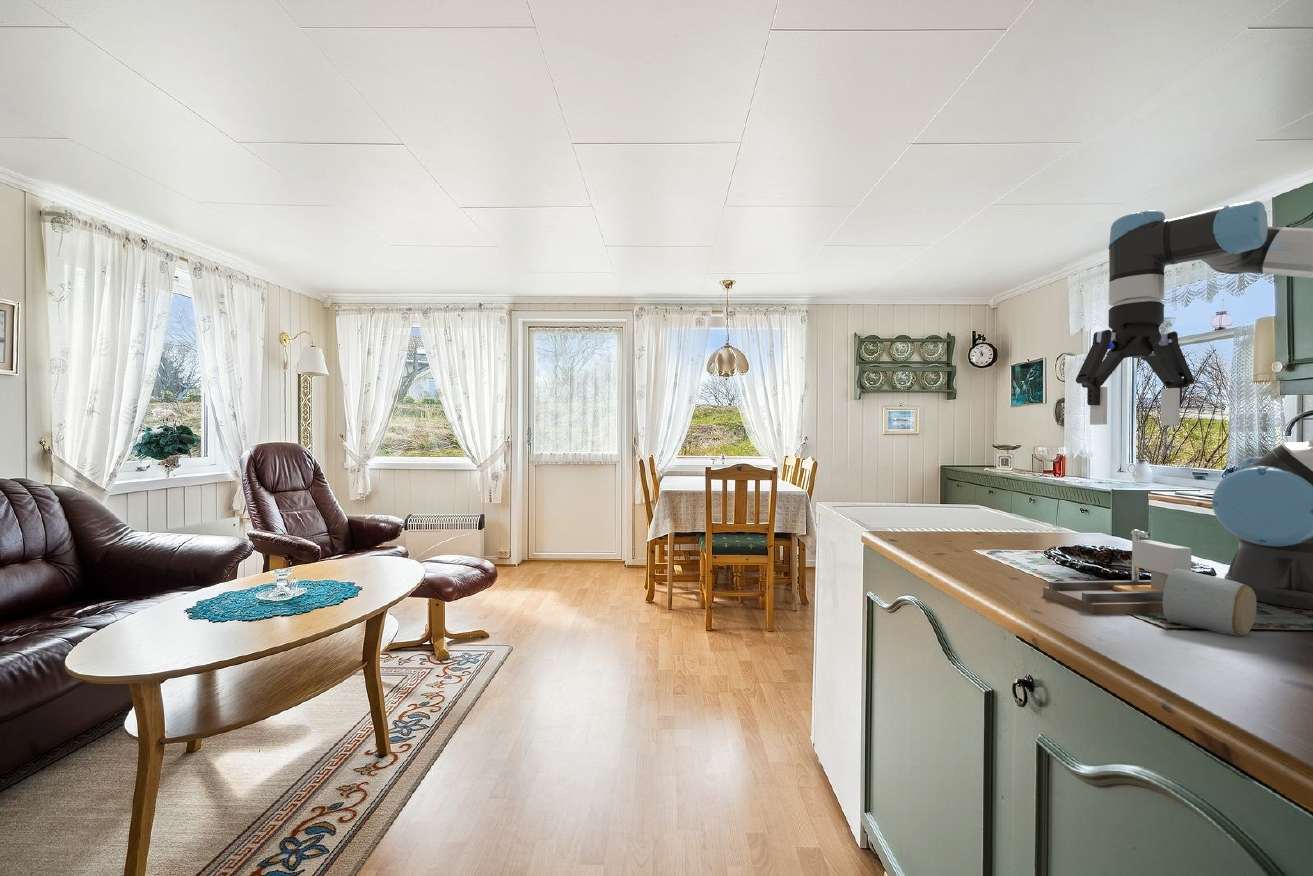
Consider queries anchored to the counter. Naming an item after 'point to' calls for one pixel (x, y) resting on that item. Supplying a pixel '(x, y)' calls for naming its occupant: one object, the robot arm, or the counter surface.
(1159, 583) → the white block on base
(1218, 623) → the ceramic mug
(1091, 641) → the counter surface
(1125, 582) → the brown piece
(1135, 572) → the keeper hook
